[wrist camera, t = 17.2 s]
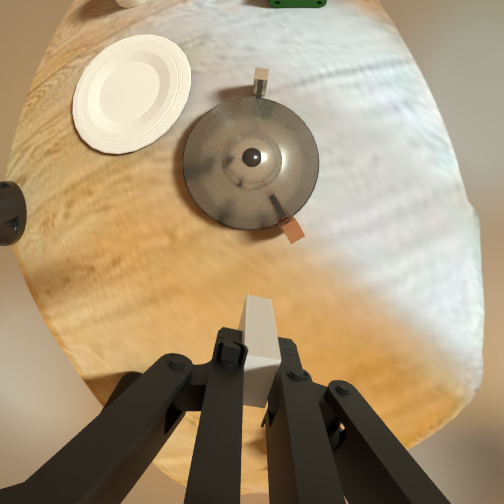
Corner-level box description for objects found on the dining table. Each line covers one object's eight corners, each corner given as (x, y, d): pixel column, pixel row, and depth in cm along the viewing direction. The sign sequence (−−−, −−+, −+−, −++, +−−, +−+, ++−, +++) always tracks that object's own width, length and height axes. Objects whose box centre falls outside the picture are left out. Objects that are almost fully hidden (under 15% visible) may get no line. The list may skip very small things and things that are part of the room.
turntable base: (162, 125, 47) (147, 115, 39) (281, 75, 45) (286, 57, 37) (216, 249, 52) (210, 260, 44) (336, 199, 50) (351, 201, 42)
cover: (216, 184, 46) (212, 183, 41) (228, 127, 44) (225, 119, 39) (275, 195, 47) (278, 197, 41) (287, 139, 45) (291, 133, 39)
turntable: (162, 142, 46) (151, 137, 40) (273, 78, 43) (276, 66, 38) (237, 266, 50) (235, 275, 45) (347, 202, 48) (358, 204, 43)
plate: (87, 49, 42) (83, 46, 41) (199, 32, 43) (198, 27, 41) (70, 159, 48) (65, 158, 46) (187, 153, 48) (184, 151, 46)
